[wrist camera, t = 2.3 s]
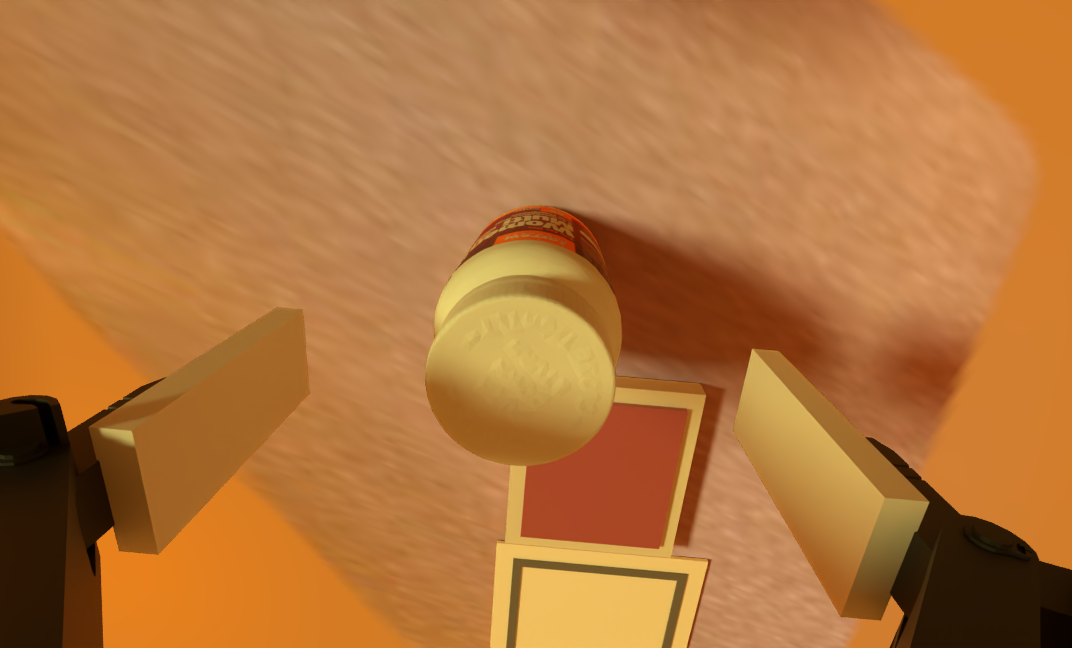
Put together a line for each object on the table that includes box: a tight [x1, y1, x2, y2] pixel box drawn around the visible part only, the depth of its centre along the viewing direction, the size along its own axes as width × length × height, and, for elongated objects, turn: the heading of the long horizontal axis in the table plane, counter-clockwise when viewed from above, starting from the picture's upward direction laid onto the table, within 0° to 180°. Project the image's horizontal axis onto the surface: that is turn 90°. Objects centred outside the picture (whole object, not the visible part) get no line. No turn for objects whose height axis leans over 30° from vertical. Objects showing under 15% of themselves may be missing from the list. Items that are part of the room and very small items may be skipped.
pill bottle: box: [425, 205, 622, 466], centre depth 19 cm, size 6×6×11 cm
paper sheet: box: [490, 540, 708, 648], centre depth 32 cm, size 12×12×1 cm
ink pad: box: [505, 376, 706, 558], centre depth 27 cm, size 10×9×2 cm
